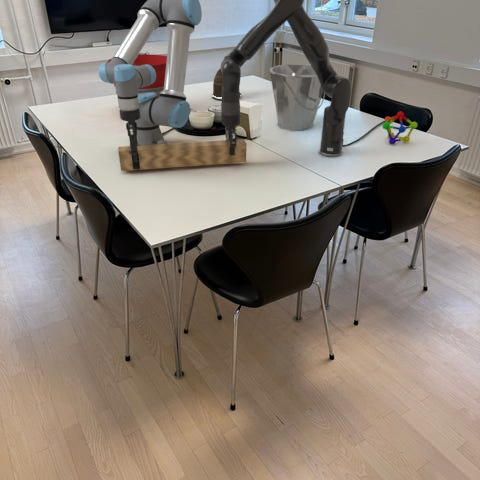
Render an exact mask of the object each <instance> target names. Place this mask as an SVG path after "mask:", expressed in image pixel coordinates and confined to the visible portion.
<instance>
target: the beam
mask: <svg viewBox="0 0 480 480" xmlns="http://www.w3.org/2000/svg"><path fill="white" fill-rule="evenodd" d="M232 144H234V142H232ZM236 145H237V146H236V147H235V155H232V156H231V155H230V154H229V141H228V140H226V139H225V140H207V141H192V142H176V143H165V144H157V145H141V146H137V150H138V154H139V162H140V169H133V163H132V155H131V154H129V153H131V148H130V145H127V146H118V151H117V152H118V159H119V166H120V171H121V172H125V171H138V170H139V171H141V170H154V169H166V168H169V169H170V168H182V167H184V168H185V167H196V166H208V165H209V166H210V165H211V166H212V165H225V164H239V163H240V164H241V163H247V141H246V140H245V139H244V138H239V139H237V142H236Z"/></svg>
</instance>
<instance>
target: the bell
mask: <svg viewBox="0 0 480 480" xmlns="http://www.w3.org/2000/svg"><path fill="white" fill-rule="evenodd" d="M226 56H227V55H226ZM226 56H224V58H225V57H226ZM224 58H223V59H224ZM212 83H213V84H212V95H214V96H216V97H222V87H223V77H222V71H221V68H219V69H218V70H217V71H216V73H215V75H214V78H213V81H212ZM240 95H241V96H242V93H241V92H240Z"/></svg>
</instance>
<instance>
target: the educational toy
mask: <svg viewBox="0 0 480 480" xmlns="http://www.w3.org/2000/svg"><path fill="white" fill-rule="evenodd" d="M397 119H399V124H400V125H399V127H398V126H393V125H391V124H392V123H394V122H395V121H396V120H397ZM403 120H404V121H405V122H407V123H408V124H409V125H407V126H404V123H403ZM384 121H385V122H384V123H382V129H383V130H386V132H387V138H388V142H389V145H395V144H396V143H397V142H402V141H403V142H404V143H409V142H410V140H411V138H410V136H411V134H412V132H413V131H414V130H415V129H417V127H418V122H417V121H411V120H410V119H409V118H408V117H406V116H405V113H404V112H403V111H401V110H400V111H398V112H397V114H396V115H394V116H391V117H390V116H386V117H385V118H384ZM392 129H393V130H397V131H398V132H396V134H395V133H394V132H392ZM408 129H409V131H408V133H407V134H406V135H404V136H401V134H403V133H405V132H406V130H408ZM399 135H400V136H399Z"/></svg>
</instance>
